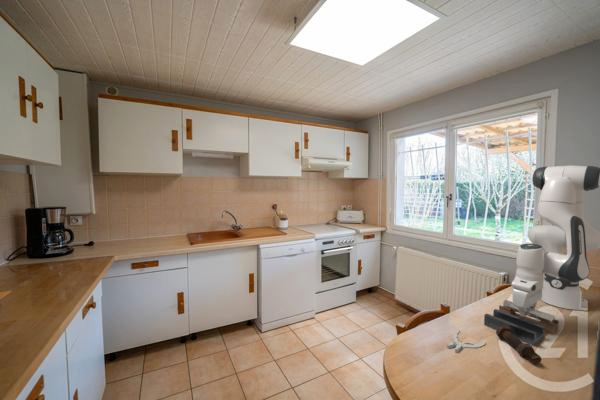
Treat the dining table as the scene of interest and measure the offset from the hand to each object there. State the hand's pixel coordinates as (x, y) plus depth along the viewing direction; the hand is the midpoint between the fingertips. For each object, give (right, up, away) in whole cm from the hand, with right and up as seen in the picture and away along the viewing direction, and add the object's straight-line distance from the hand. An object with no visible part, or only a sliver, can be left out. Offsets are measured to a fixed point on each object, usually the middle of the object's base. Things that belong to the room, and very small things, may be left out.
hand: (527, 313), depth 107 cm
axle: (0, +1, 0) cm, 1 cm away
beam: (0, -4, 0) cm, 4 cm away
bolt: (-20, -5, -19) cm, 28 cm away
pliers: (-38, -5, -14) cm, 41 cm away
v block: (-12, -4, -7) cm, 15 cm away
